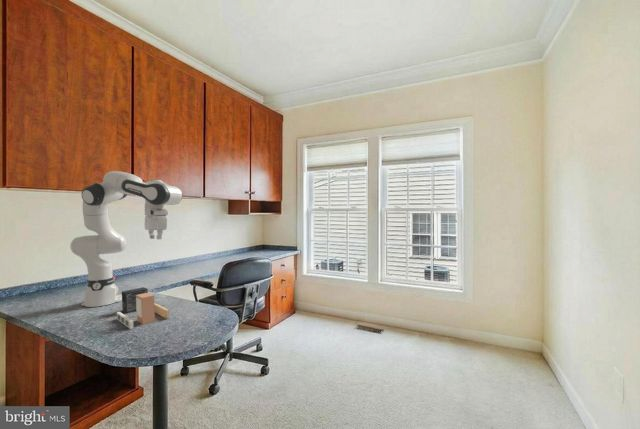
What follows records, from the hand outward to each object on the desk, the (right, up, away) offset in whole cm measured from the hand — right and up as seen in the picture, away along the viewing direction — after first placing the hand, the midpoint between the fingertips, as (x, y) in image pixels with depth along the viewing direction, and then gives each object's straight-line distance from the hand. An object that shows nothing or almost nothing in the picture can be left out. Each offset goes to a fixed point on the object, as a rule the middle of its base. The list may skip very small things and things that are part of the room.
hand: (155, 239), depth 148 cm
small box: (-13, -38, +5) cm, 40 cm away
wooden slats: (-1, -37, -10) cm, 38 cm away
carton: (+2, -37, -13) cm, 39 cm away
